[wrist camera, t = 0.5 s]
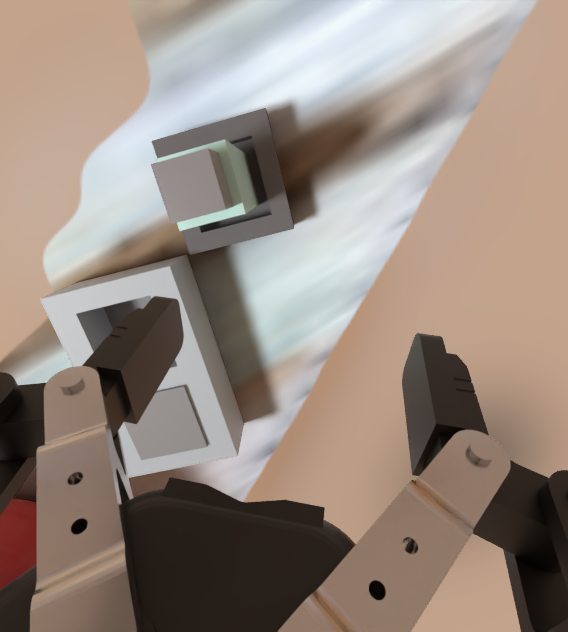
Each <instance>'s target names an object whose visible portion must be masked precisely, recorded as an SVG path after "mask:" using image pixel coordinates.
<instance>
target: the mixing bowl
mask: <svg viewBox="0 0 568 632" xmlns="http://www.w3.org/2000/svg"><path fill="white" fill-rule="evenodd" d="M36 564H37V502H33V501H28V500H21V499H12V500H11V502H10V503H9V504H8V506H7V507H6V509H5V510H4V512H3V513H2V514H1V516H0V590H1V589H2V588H4V587H5V586H7V585H8V584H9V583H11V582H12V581H14V580H15V579H17V578H18V577H19V576H21V575H22V574H24V573H25V572H26V571H28V570H29V569H31V568H32V567H33V566H35V565H36Z"/></svg>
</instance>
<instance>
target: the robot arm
mask: <svg viewBox="0 0 568 632" xmlns="http://www.w3.org/2000/svg"><path fill="white" fill-rule="evenodd" d="M183 339H184V332H183V325H182V319H181V312H180V305H179V301H178V300H177V299H174V298H167V297H160V296H154V297H153V298H152V299H151V300H150V301H149V302H148V304H147V305H146V306H145V307H144V308H143V309H142V308H137V309H136V310H134V311H132V312H131V313H129V314H127V315H126V316H124V318H123V319H122V320H121V321H120V322H119V323H118V324H117V326H116V328H114V329H113V330H112V331H111V333H110V334H109V337H108V336H107V337H106V338H105V340H104V341H103V342H102V343H101V344H100V345H99V347H98V348H97V349H96V350H95V351H94V352H93V353H92V355H91V356H90V357H89V358H88V359H87V360H86V362H85V363H84V364H83V365H82V366H76V367H71V368H68V369H65V370H63V371H61V372H59V373H57V374H56V375H54V376H53V377H52V378H51V379H50V380H49V381H48V382H47V383H40V384H29V385H17V383H16V381H15V379H14V378H13V377H12V376H11V375H10V374H7V373H2V372H0V516H1V514H2V513H3V512H4V510H5V509H6V507H7V506H8V504H9V503H10V502H11V500H12V499H13V497H14V496H15V494H16V493H17V492H18V490H19V489H20V487H21V486H22V484H23V483H24V482H25V480H26V479H27V477H28V476H29V474H30V473H31V472H32V470H33V469H34V467H35V466H36V484H37V564H36V565H35V566H33V567H32V568H31V569H29V570H28V571H26V572H25V573H24V574H22V575H21V576H19V577H18V578H17V579H15V580H14V581H12V582H11V583H9V584H8V585H7V586H5V587H4V588H2V589H1V590H0V632H411V630H412V629H413V627H414V626H415V624H416V623H417V621H418V619H419V618H420V616H421V615H422V613H423V611H424V610H425V608H426V607H427V605H428V603H429V602H430V600H431V599H432V597H433V595H434V594H435V592H436V591H437V589H438V587H439V586H440V584H441V583H442V581H443V579H444V578H445V576H446V575H447V573H448V571H449V570H450V568H451V567H452V565H453V564H454V562H455V560H456V559H457V557H458V555H459V554H460V552H461V550H462V549H463V547H464V545H465V544H466V543H467V541H468V539H469V538H470V536H471V534H472V533H473V534H475V535H478V536H479V537H481V538H483V539H485V540H487V541H489V542H491V543H493V544H495V545H497V546H498V547H501V548H502V549H503V550H504V555H505V559H506V564H507V568H508V573H509V578H510V582H511V586H512V591H513V596H514V601H515V605H516V610H517V615H518V619H519V624H520V628H521V632H568V471H567V470H563V471H562V470H561V471H557V472H555V473H554V474H552V475H551V476H550V478H547V477H545V476H543V475H541V474H538V473H536V472H534V471H531V470H529V469H527V468H524V467H522V466H520V465H518V464H516V463H514V462H513V461H511V460H510V459H509V456H508V454H507V453H506V451H505V450H504V448H503V447H502V446H501V445H500V444H499V443H498V442H497V441H496V440H494V439H493V438H492V437H490V436H489V434H488V431H487V428H486V425H485V422H484V419H483V415H482V412H481V409H480V406H479V403H478V400H477V396H476V394H474V393H475V390H474V387H473V384H472V383H471V377H470V374H469V371H468V368H467V366H466V365H465V364H464V363H463V362H462V360H461V359H460V358H459V357H458V356H457V355H455V354H448V353H446V349H445V345H444V342H443V338H442V337H440V336H434V335H427V334H420V333H417V334H416V335H415V337H414V340H413V343H412V346H411V349H410V352H409V355H408V358H407V361H406V364H405V367H404V372H403V379H402V387H403V396H404V404H405V414H406V423H407V431H408V440H409V450H410V459H411V468H412V475H416V476H419V477H418V478H417V479H416V480H415V481H414V480H412V481H410V482H409V483H408V484H407V485H406V486H405V488H404V489H403V490H402V491H401V492H400V493H399V495H398V496H397V497H396V498H395V499H394V500H393V502H392V503H391V504H390V505H389V506H388V507H387V509H386V510H385V511H384V512H383V513H382V515H381V516H380V517H379V518H378V519H377V520H376V522H375V523H374V524H373V525H372V526H371V527H370V529H369V530H368V531H367V532H366V533H365V534H364V536H363V537H362V538H361V539H360V540H359V542H358V543H357V544H355V543H354V542H353V541H352V540H351V539H350V538H349V537H348V536H347V535H346V534H345V533H343V532H342V531H341V530H340V529H339V528H337V527H336V526H334V525H333V524H331V523H329V522H327V521H325V520H324V507H319V506H314V505H309V504H303V503H298V502H293V501H288V500H277V501H262V502H248V503H245V502H240V501H238V500H236V499H234V498H232V497H230V496H228V495H226V494H224V493H222V492H220V491H218V490H216V489H214V488H212V487H210V486H208V485H206V484H200V483H195V482H190V481H185V480H180V479H175V478H169V481H168V483H167V485H166V487H165V489H163V490H157V491H152V492H148V493H145V494H142V495H139V496H137V497H135V498H134V497H133V493H132V490H131V486H130V482H129V477H128V472H127V467H126V462H125V458H124V453H123V448H122V443H121V438H120V434H119V431H118V430H119V429H120V427H121V425H122V424H123V422H128V423H133V424H137V423H138V422H139V420H140V418H141V417H142V415H143V413H144V412H145V410H146V408H147V406H148V405H149V403H150V401H151V400H152V398H153V396H154V395H155V393H156V391H157V389H158V388H159V386H160V384H161V383H162V381H163V379H164V378H165V376H166V374H167V372H168V371H169V369H170V367H171V366H172V364H173V362H174V361H175V359H176V357H177V355H178V354H179V352H180V350H181V348H182V345H183Z"/></svg>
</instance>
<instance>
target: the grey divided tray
mask: <svg viewBox="0 0 568 632" xmlns="http://www.w3.org/2000/svg"><path fill="white" fill-rule="evenodd" d="M154 296H160V297H167V298H174V299H177V300H178V301H179V305H180V312H181V319H182V325H183V332H184V339H183V345H182V348H181V350H180V352H179V354H178V355H177V357H176V359H175V361H174V362H173V364H172V366H171V367H170V369H169V371H168V372H167V374H166V376H165V378H164V379H163V381H162V383H161V384H160V386H159V388H158V389H157V391H156V393H155V395H154V396H153V398H152V400H151V401H150V403H149V405H148V406H147V408H146V410H145V412H144V413H143V415H142V417H141V418H140V420H139V422H138V423H137V424H133V423H128V422H123V424H122V425H121V427H120V429H119V430H118V431H119V434H120V438H121V443H122V448H123V453H124V458H125V462H126V467H127V472H128V477H129V478H130V477H135V476H141V475H146V474H151V473H156V472H161V471H166V470H171V469H176V468H181V467H186V466H191V465H196V464H201V463H206V462H211V461H216V460H221V459H226V458H231V457H236V456H238V451H239V446H240V441H241V436H242V431H243V426H244V422H243V419H242V416H241V413H240V410H239V407H238V404H237V401H236V398H235V395H234V393H233V390H232V387H231V384H230V381H229V378H228V375H227V372H226V369H225V366H224V363H223V360H222V357H221V354H220V351H219V348H218V345H217V342H216V339H215V336H214V333H213V330H212V328H211V325H210V322H209V319H208V316H207V313H206V310H205V307H204V304H203V301H202V298H201V295H200V292H199V289H198V286H197V283H196V280H195V277H194V274H193V271H192V268H191V265H190V263H189V260H188V257H187V255H183V256H179V257H175V258H171V259H167V260H164V261H160V262H156V263H152V264H148V265H144V266H140V267H136V268H132V269H128V270H124V271H121V272H117V273H113V274H109V275H105V276H101V277H97V278H93V279H89V280H85V281H81V282H78V283H74V284H72V285H70V286H67V287H65V288H63V289H61V290H59V291H57V292H54V293H52V294H50V295H48V296H46V297H43V298H41V299H40V300H41V302H42V304H43V306H44V309H45V311H46V313H47V315H48V317H49V319H50V321H51V323H52V325H53V327H54V329H55V331H56V333H57V335H58V337H59V339H60V341H61V344H62V346H63V348H64V350H65V352H66V354H67V356H68V358H69V360H70V362H71V364H72V366H73V367H76V366H82V365H83V364H84V363H85V362H86V360H87V359H88V358H89V357H90V356H91V355H92V353H93V352H94V351H95V350H96V349H97V348H98V347H99V345H100V344H101V343H102V342H103V341H104V340H105V338H106V337H107V336H108V337H109V334H110V333H111V331H112V330H113V329H114V328H116V326H117V324H118V323H119V322H120V321H121V320H122V319H123V318H124V316H126V315H127V314H129V313H131V312H132V311H134V310H136V309H137V308H142V309H143V308H144V307H145V306H146V305H147V304H148V302H149V301H150V300H151V299H152V298H153V297H154Z"/></svg>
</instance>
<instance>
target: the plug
mask: <svg viewBox="0 0 568 632" xmlns="http://www.w3.org/2000/svg"><path fill="white" fill-rule="evenodd" d="M156 162H157V163H154V164H151V166H152V169H153V172H154V175H155V178H156V181H157V184H158V187H159V190H160V193H161V196H162V198H163V201H164V204H165V207H166V210H167V213H168V216H169V219H170V222H171V224H174V223H177V225H178V228H179V230H180V231H182V230H186V229H189V228H193V227H197V226H201V225H205V224H208V223H212V222H216V221H220V220H224V219H227V218H231V217H235V216H239V215H243V214H246V213H247V212H249V211H250V210H252V209H254V208H255V207H257V206H258V205H259V202H258V198H257V194H256V191H255V187H254V183H253V179H252V175H251V172H250V168H249V164H248V160H247V156H246V153H244V152H243V151H241V150H240V149H238V148H237V147H235V146H234V145H232V144H231V143H230V142H228V141H227V140H225V139H224V140H221V141H217V142H214V143H210V144H207V145H203V146H200V147H196V148H193V149H189V150H186V151H182V152H179V153H175V154H171V155H168V156H164V157H161V158H157V159H156Z"/></svg>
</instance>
